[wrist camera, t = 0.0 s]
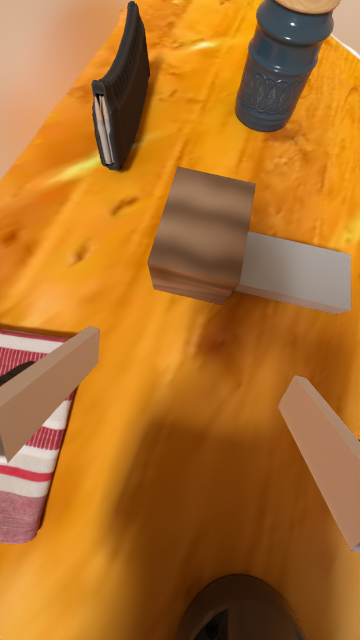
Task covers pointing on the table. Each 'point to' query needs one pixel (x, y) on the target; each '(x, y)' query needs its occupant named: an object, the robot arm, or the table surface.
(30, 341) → the dish towel
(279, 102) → the canister
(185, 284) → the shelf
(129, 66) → the magazine
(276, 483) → the table surface
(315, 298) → the tile
